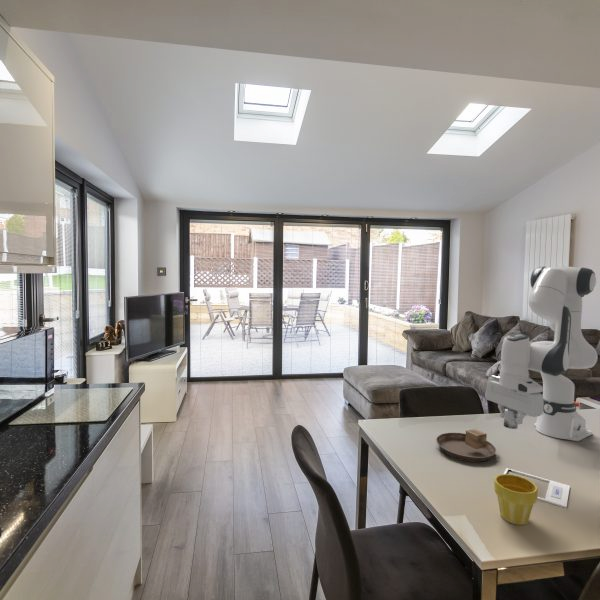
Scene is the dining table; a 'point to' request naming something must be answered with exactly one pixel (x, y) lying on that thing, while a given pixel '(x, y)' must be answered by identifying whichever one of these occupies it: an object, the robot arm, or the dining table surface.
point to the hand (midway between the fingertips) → (511, 420)
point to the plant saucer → (464, 448)
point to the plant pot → (515, 497)
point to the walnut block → (475, 439)
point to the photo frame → (551, 490)
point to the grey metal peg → (510, 418)
